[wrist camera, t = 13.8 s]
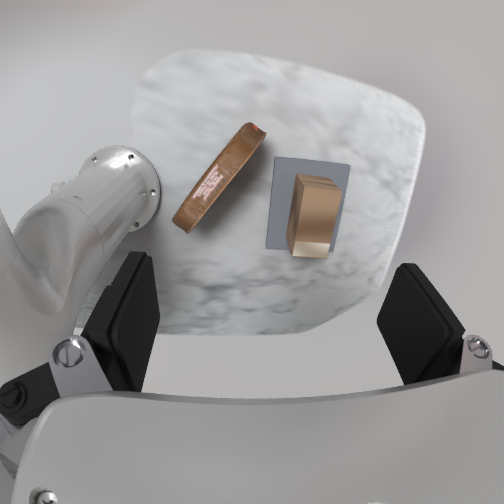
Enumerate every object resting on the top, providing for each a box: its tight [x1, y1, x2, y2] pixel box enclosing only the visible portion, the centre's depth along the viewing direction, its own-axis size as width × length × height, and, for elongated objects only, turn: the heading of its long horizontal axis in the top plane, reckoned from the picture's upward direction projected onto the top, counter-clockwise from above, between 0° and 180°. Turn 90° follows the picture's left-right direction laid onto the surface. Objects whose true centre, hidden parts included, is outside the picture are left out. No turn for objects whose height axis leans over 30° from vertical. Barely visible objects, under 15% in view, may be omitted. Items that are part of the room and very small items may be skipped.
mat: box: [266, 157, 350, 251], centre depth 39 cm, size 10×13×1 cm
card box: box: [286, 174, 342, 259], centre depth 36 cm, size 9×4×6 cm, turn 174°
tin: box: [172, 122, 266, 234], centre depth 33 cm, size 15×3×8 cm, turn 141°
